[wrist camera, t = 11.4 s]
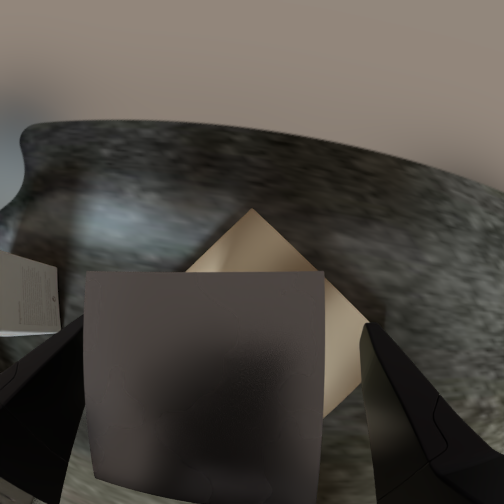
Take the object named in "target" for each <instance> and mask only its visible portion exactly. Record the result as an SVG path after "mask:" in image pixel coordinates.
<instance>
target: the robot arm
mask: <svg viewBox="0 0 504 504" xmlns="http://www.w3.org/2000/svg"><path fill="white" fill-rule="evenodd" d="M83 327H84V314H83V315H81V316H80V317H79V318H77V319H76V320H74V321H73V322H71V323H70V324H69V325H67V326H66V327H64V328H63V329H61V330H60V331H59V332H57V333H56V334H54V335H53V336H52V337H50V338H49V339H47V340H46V341H45V342H43V343H42V344H40V345H39V346H38V347H36V348H35V349H34V350H32V351H31V352H29V353H28V354H27V355H25V356H24V357H23V358H21V359H20V360H19V361H17V362H16V363H14V364H13V365H12V366H10V367H9V368H8V369H6V370H5V371H4V372H2V373H1V374H0V504H32V503H33V500H34V497H35V498H37V499H39V500H41V501H43V502H45V503H47V504H59V503H60V498H61V493H62V489H63V484H64V480H65V476H66V471H67V467H68V462H69V459H70V455H71V451H72V448H73V444H74V440H75V437H76V433H77V430H78V427H79V423H80V420H81V417H82V413H83V410H84V407H85V390H84V365H83ZM359 350H360V365H361V382H362V392H363V399H364V405H365V411H366V417H367V424H368V431H369V438H370V445H371V453H372V461H373V469H374V479H375V488H376V499H377V504H504V455H503V454H501V453H499V452H497V451H495V450H494V449H492V448H491V447H490V446H489V445H488V444H487V443H486V442H485V441H484V440H483V439H482V438H481V437H480V436H479V435H477V434H476V433H475V432H474V431H473V430H472V429H471V428H470V427H469V426H468V425H467V424H466V423H465V422H464V421H463V420H462V419H461V418H460V417H459V416H458V415H457V413H456V412H455V411H454V410H453V409H452V408H451V407H450V406H449V404H448V403H447V402H446V401H445V400H444V398H443V397H442V396H441V395H439V393H438V391H437V390H436V389H435V388H434V387H433V385H432V384H431V383H430V382H429V381H428V380H427V378H426V377H425V376H424V375H423V374H422V373H421V371H420V370H419V369H418V368H417V367H416V366H415V364H414V363H413V362H412V361H411V360H410V359H409V358H408V356H407V355H406V354H405V353H404V352H403V351H402V350H401V348H400V347H399V346H398V345H397V344H396V343H395V342H394V341H393V339H392V338H391V337H390V336H389V335H388V334H387V333H386V332H385V330H384V329H383V328H382V327H381V326H380V325H379V324H378V323H376V322H371V323H365V324H364V326H363V330H362V333H361V337H360V342H359Z"/></svg>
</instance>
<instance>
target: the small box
mask: <svg viewBox="0 0 504 504" xmlns="http://www.w3.org/2000/svg"><path fill="white" fill-rule="evenodd" d="M60 330H61V324H60V313H59V301H58V282H57V267H54V266H51V265H47V264H44V263H40V262H37V261H33V260H30V259H27V258H23V257H20V256H17V255H14V254H10V253H7V252H4V251H1V250H0V336H21V335H37V334H51V333H57V332H59V331H60Z"/></svg>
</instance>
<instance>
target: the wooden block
mask: <svg viewBox="0 0 504 504" xmlns="http://www.w3.org/2000/svg"><path fill="white" fill-rule="evenodd" d="M290 271H318V270H317V269H316V268H315V267H313V266H312V265H311V264H310V263H309V262H308V261H307V260H306V259H305V258H304V257H303V256H302V255H301V254H300V253H299V252H298V251H297V250H296V249H295V248H294V247H293V246H292V245H291V244H290V243H289V242H288V241H287V240H286V239H284V238H283V237H282V236H281V235H280V234H279V233H278V232H277V231H276V230H275V229H274V228H273V227H272V226H271V225H270V224H269V223H268V222H267V221H265V220H264V219H263V218H262V217H261V216H260V215H259V214H258V213H257V212H256V211H255V210H254V209H253V208H252V209H250V210H249V211H248V212H247V213H246V214H245V215H244V216H243V217H242V218H241V219H240V220H239V221H238V222H237V223H236V224H235V225H234V226H232V227H231V228H230V229H229V230H228V231H227V232H226V233H225V234H224V235H223V236H222V237H221V238H220V239H219V240H218V241H217V242H216V243H215V244H214V245H213V246H212V247H211V248H210V249H208V250H207V251H206V252H205V253H204V254H203V255H202V256H201V257H200V258H199V259H198V260H197V261H196V262H195V263H194V264H193V265H192V266H191V267H190V268H189V269H188V270H187V271H186V272H290ZM324 279H325V380H324V407H323V418H324V417H325V416H326V415H328V414H329V413H330V412H331V411H332V410H333V409H334V408H335V407H336V406H337V405H338V404H339V403H340V402H342V401H343V400H344V399H345V398H346V397H347V396H348V395H349V394H350V393H351V392H352V391H353V390H354V389H355V388H356V387H357V386H358V385H359V384H360V383H361V365H360V350H359V342H360V337H361V333H362V330H363V326H364V324H365V323H370V322H369V321H368V320H367V319H366V318H365V317H364V316H363V315H362V314H361V313H360V312H359V311H358V310H357V309H356V308H355V307H354V306H353V305H352V304H351V303H350V302H349V301H348V300H347V299H346V298H345V297H344V296H343V295H342V294H341V293H340V292H339V291H338V290H337V289H336V288H335V287H334V286H333V285H332V284H331V283H330V282H329V281H328V280H327V279H326V278H325V277H324Z"/></svg>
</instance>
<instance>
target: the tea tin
mask: <svg viewBox="0 0 504 504" xmlns="http://www.w3.org/2000/svg"><path fill="white" fill-rule="evenodd" d="M83 365H84V390H85V405H86V417H87V427H88V436H89V444H90V451H91V458H92V464H93V470H94V476H95V478H96V479H99V480H102V481H105V482H108V483H112V484H115V485H118V486H121V487H125V488H128V489H132V490H136V491H139V492H143V493H147V494H152V495H156V496H160V497H165V498H170V499H175V500H180V501H186V502H192V503H198V504H316V499H317V490H318V479H319V468H320V456H321V442H322V426H323V407H324V380H325V279H324V271H290V272H103V271H87V273H86V285H85V301H84V327H83Z"/></svg>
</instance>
